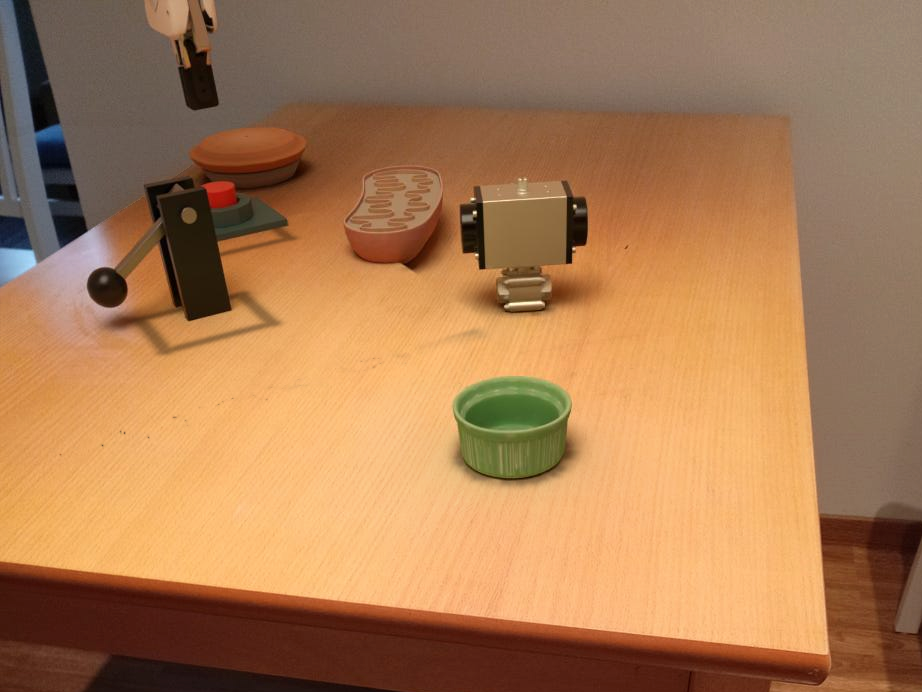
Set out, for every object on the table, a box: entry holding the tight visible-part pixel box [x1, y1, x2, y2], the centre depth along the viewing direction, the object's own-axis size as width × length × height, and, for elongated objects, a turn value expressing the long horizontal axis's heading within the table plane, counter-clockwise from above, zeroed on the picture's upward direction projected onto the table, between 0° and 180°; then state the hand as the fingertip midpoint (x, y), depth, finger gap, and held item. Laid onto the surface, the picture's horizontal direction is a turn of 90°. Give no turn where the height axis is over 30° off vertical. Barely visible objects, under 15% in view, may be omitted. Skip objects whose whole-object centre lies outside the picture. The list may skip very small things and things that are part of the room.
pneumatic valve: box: [459, 176, 589, 313], centre depth 97 cm, size 6×12×12 cm, turn 93°
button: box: [200, 181, 238, 209], centre depth 116 cm, size 4×4×2 cm
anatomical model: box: [342, 164, 444, 265], centre depth 114 cm, size 23×10×5 cm, turn 177°
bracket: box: [143, 175, 233, 322], centre depth 97 cm, size 11×9×13 cm
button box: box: [211, 191, 289, 242], centre depth 118 cm, size 12×10×4 cm
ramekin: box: [452, 375, 573, 479], centre depth 78 cm, size 9×9×4 cm
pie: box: [188, 126, 308, 190], centre depth 135 cm, size 15×16×5 cm
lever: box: [86, 184, 184, 309], centre depth 94 cm, size 13×4×4 cm
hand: (203, 106), depth 110 cm, fingers closed
